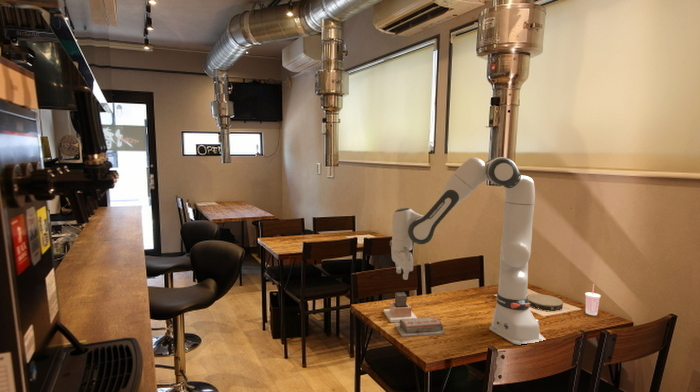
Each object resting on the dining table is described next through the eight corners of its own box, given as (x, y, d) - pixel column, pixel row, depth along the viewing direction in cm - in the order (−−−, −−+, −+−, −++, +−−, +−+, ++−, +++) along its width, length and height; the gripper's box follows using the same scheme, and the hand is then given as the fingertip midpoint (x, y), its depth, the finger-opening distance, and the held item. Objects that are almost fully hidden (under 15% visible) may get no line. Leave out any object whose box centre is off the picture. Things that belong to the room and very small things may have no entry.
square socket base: (417, 320, 177) (418, 309, 177) (390, 322, 175) (391, 310, 175) (408, 310, 189) (409, 299, 188) (383, 311, 187) (383, 300, 186)
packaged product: (436, 314, 174) (445, 323, 164) (435, 325, 174) (445, 335, 165) (395, 316, 171) (402, 326, 161) (394, 327, 171) (402, 338, 162)
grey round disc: (562, 303, 203) (562, 297, 202) (562, 314, 189) (563, 307, 188) (527, 297, 210) (527, 292, 209) (525, 308, 196) (525, 301, 195)
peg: (406, 315, 180) (406, 295, 179) (397, 315, 180) (397, 295, 179) (403, 311, 184) (403, 292, 183) (394, 312, 183) (395, 292, 183)
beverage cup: (584, 314, 188) (586, 284, 186) (583, 310, 193) (585, 281, 192) (599, 317, 185) (602, 286, 184) (598, 312, 190) (601, 283, 189)
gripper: (417, 250, 169) (416, 282, 170) (402, 240, 189) (401, 269, 191) (402, 250, 168) (402, 283, 169) (388, 240, 188) (388, 270, 189)
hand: (401, 276), depth 180 cm, fingers open, 8 cm apart
